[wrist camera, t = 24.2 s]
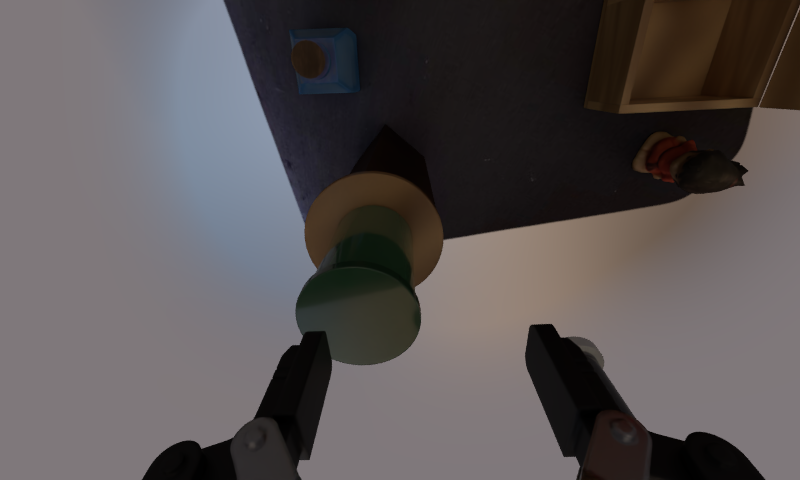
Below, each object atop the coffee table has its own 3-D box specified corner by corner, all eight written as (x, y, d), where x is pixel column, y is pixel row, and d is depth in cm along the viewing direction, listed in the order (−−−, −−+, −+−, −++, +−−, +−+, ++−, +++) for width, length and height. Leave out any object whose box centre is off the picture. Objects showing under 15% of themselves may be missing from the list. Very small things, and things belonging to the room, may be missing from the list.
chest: (583, 107, 43) (618, 113, 36) (604, -2, 37) (650, -21, 30) (699, 102, 42) (758, 106, 35) (736, -11, 37) (814, -32, 30)
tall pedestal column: (439, 155, 46) (472, 233, 23) (395, 206, 49) (385, 318, 26) (383, 107, 43) (358, 140, 20) (341, 165, 47) (278, 249, 24)
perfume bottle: (360, 90, 42) (344, 95, 31) (313, 92, 42) (281, 96, 32) (355, 34, 39) (337, 18, 29) (305, 36, 40) (268, 21, 29)
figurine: (677, 124, 43) (766, 139, 33) (676, 163, 46) (759, 190, 35) (627, 140, 44) (698, 160, 34) (629, 178, 47) (695, 207, 36)
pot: (434, 236, 23) (447, 314, 15) (381, 290, 25) (370, 382, 18) (365, 183, 21) (342, 241, 14) (315, 246, 24) (272, 326, 16)
